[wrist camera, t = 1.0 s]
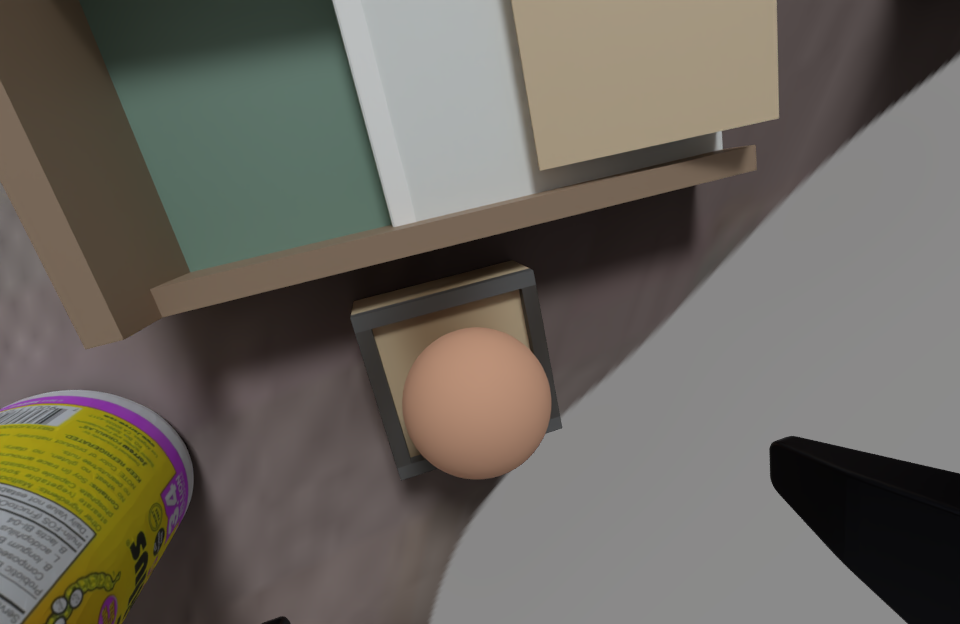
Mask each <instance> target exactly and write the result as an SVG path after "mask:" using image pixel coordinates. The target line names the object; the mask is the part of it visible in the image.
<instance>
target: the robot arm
mask: <svg viewBox="0 0 960 624" xmlns="http://www.w3.org/2000/svg"><path fill="white" fill-rule="evenodd" d="M770 478H771V482H772V484H773V486H774V488H775V489H776V491H777V492H778V493H779V494H780V495H781V496H782V498H783V499H784V500H785V501H786V502H787V503H788V504H789V505H790V506H791V507H792V508H793V510H794V511H795V512H796V513H797V514H798V515H799V516H800V517H801V518H802V519H803V520H804V522H805V523H806V524H807V525H808V526H809V527H810V528H811V529H812V530H813V531H814V532H815V533H816V535H817V536H818V537H819V538H820V539H821V540H822V541H823V542H824V543H825V544H826V546H827V547H828V548H829V549H830V550H831V551H832V552H833V553H834V554H835V555H836V556H837V557H838V558H839V559H840V560H841V561H842V562H843V563H844V564H845V565H846V566H847V567H848V568H849V569H850V570H851V571H852V572H853V573H854V574H855V575H856V576H857V577H858V578H859V579H860V580H861V581H862V582H864V583H865V584H866V585H867V586H868V587H869V588H870V589H871V590H872V591H873V592H874V593H875V594H877V596H879V597H880V598H881V599H882V600H883V601H884V602H885V603H886V604H887V605H888V606H889V607H890V608H891V609H893V610H894V611H895V612H896V613H897V614H898V615H899V616H900V617H901V618H902V619H903V620H905V622H907V623H908V624H960V474H959V473H955V472H950V471H946V470H941V469H937V468H933V467H928V466H924V465H919V464H915V463H911V462H906V461H901V460H897V459H893V458H888V457H884V456H879V455H875V454H871V453H866V452H862V451H857V450H853V449H849V448H845V447H840V446H836V445H831V444H827V443H822V442H818V441H813V440H809V439H804V438H800V437H795V436H789V437H785V438H783V439H780V440H777V441H775V442H773V443H772V444H771V446H770ZM262 624H290V622H289V620H288V619H287V618H286V617H278V618H275V619H272V620H270V621H267V622H264V623H262Z"/></svg>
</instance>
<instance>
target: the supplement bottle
mask: <svg viewBox="0 0 960 624" xmlns="http://www.w3.org/2000/svg"><path fill="white" fill-rule="evenodd" d="M193 484H194V474H193V466H192V461H191V458H190V455H189V452H188V450H187V448H186V446H185V444H184V442H183V441H182V439H181V437H180V436H179V435H178V433H177V432H176V431H175V430H174V429H173V427H172V426H171V425H170V424H169V423H168V422H167V421H165V420H164V419H163V418H162V417H161V416H160V415H158V414H157V413H155V412H154V411H152V410H151V409H149V408H147V407H145V406H143V405H141V404H138V403H136V402H134V401H131V400H129V399H126V398H123V397H120V396H117V395H113V394H109V393H103V392H97V391H89V390H63V391H54V392H48V393H43V394H39V395H35V396H31V397H28V398H25V399H22V400H19V401H17V402H14V403H12V404H10V405H8V406H6V407H4V408H2V409H0V624H122V622H123V621H124V619H125V617H126V616H127V614H128V612H129V611H130V609H131V607H132V605H133V604H134V602H135V600H136V599H137V597H138V595H139V594H140V592H141V590H142V589H143V587H144V585H145V584H146V582H147V580H148V578H149V577H150V575H151V573H152V572H153V570H154V568H155V566H156V565H157V563H158V561H159V560H160V558H161V556H162V555H163V553H164V551H165V549H166V548H167V546H168V544H169V542H170V541H171V539H172V537H173V535H174V534H175V532H176V530H177V528H178V526H179V525H180V523H181V521H182V519H183V517H184V515H185V513H186V511H187V509H188V506H189V503H190V500H191V497H192V492H193Z"/></svg>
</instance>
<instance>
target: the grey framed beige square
mask: <svg viewBox="0 0 960 624" xmlns="http://www.w3.org/2000/svg"><path fill="white" fill-rule="evenodd" d="M350 319H351V322H352V326H353V329H354V332H355V335H356V338H357V342H358V345H359V348H360V351H361V354H362V357H363V361H364V364H365V367H366V370H367V373H368V377H369V380H370V383H371V386H372V389H373V393H374V396H375V399H376V402H377V405H378V408H379V412H380V415H381V418H382V421H383V424H384V428H385V431H386V434H387V437H388V440H389V444H390V447H391V450H392V453H393V456H394V459H395V463H396V466H397V469H398V472H399V475H400V479H401V480H404V479H407V478H410V477H414V476H417V475H420V474H423V473H426V472H429V471H432V470H435V469H438V468H437V467H435V466H434V465H432V464H431V463H430V462H429V461H428V460H427V459H426V458H424V457H423V456H422V455H421V453H420V452H419V451H418V450H417V448H416V447H415V445H414V444H413V442H412V440H411V438H410V436H409V434H408V431H407V429H406V426H405V422H404V417H403V410H402V398H403V389H404V385H405V381H406V378H407V376H408V373H409V371H410V369H411V367H412V365H413V363H414V362H415V360H416V359H417V357H418V356H419V355H420V354H421V352H422V351H423V350H424V349H425V348H426V347H427V346H429V345H430V344H431V343H432V342H434V341H435V340H437V339H438V338H440V337H441V336H444V335H446V334H448V333H450V332H453V331H456V330H459V329H464V328H472V327H483V328H490V329H495V330H498V331H501V332H504V333H506V334H509V335H511V336H513V337H514V338H516V339H517V340H519V341H520V342H522V343H523V344H524V345H525V346H526V347H527V348H529V349H530V350H531V352H532V353H533V354H534V355H535V356H536V358H537V359H538V360H539V362H540V364H541V365H542V367H543V369H544V372H545V374H546V376H547V379H548V382H549V386H550V392H551V415H550V420H549V424H548V428H547V431H546V433H549V432H552V431H555V430H558V429H561V428H562V424H561V419H560V413H559V408H558V402H557V397H556V391H555V386H554V380H553V375H552V370H551V364H550V359H549V353H548V348H547V342H546V337H545V331H544V326H543V320H542V315H541V309H540V304H539V299H538V293H537V288H536V282H535V277H534V271H533V270H532V269H530V268H528V267H526V266H524V265H521V264H519V263H517V262H515V261H513V260H511V261H507V262H503V263H499V264H496V265H492V266H488V267H484V268H480V269H476V270H472V271H469V272H465V273H461V274H457V275H453V276H449V277H445V278H442V279H438V280H434V281H430V282H426V283H422V284H418V285H415V286H411V287H407V288H403V289H399V290H395V291H391V292H388V293H384V294H380V295H376V296H372V297H368V298H364V299H360V300H357V301H354V302H353V307H352V312H351V317H350ZM546 433H545V434H546Z"/></svg>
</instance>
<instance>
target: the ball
mask: <svg viewBox="0 0 960 624" xmlns="http://www.w3.org/2000/svg"><path fill="white" fill-rule="evenodd" d="M402 410H403V417H404V422H405V426H406V429H407V431H408V434H409V436H410V438H411V440H412V442H413V444H414V445H415V447H416V448H417V450H418V451H419V452H420V453H421V455H422V456H423V457H424V458H426V459H427V460H428V461H429V462H430V463H431V464H432V465H434V466H435V467H437V468H438V469H440V470H442V471H444V472H446V473H448V474H450V475H453V476H456V477H460V478H465V479H488V478H494V477H497V476H501V475H503V474H506V473H508V472H510V471H512V470H513V469H515V468H517V467H518V466H520V465H521V464H523V463H524V462H525V461H526V460H527V459H528V458H529V457H530V456H531V455H532V454H533V453H534V451H535V450H536V449H537V447H538V446H539V444H540V443H541V441H542V439H543V437H544V435H545V433H546V431H547V428H548V424H549V420H550V415H551V392H550V386H549V382H548V379H547V376H546V374H545V372H544V369H543V367H542V365H541V364H540V362H539V360H538V359H537V358H536V356H535V355H534V354H533V353H532V352H531V350H530V349H529V348H527V347H526V346H525V345H524V344H523V343H522V342H520V341H519V340H517V339H516V338H514V337H513V336H511V335H509V334H506V333H504V332H501V331H498V330H495V329H490V328H483V327H472V328H464V329H459V330H456V331H453V332H450V333H448V334H446V335H444V336H441V337H440V338H438V339H437V340H435V341H434V342H432V343H431V344H430V345H429V346H427V347H426V348H425V349H424V350H423V351H422V352H421V354H420V355H419V356H418V357H417V359H416V360H415V362H414V363H413V365H412V367H411V369H410V371H409V373H408V376H407V378H406V381H405V385H404V389H403V398H402Z"/></svg>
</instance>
